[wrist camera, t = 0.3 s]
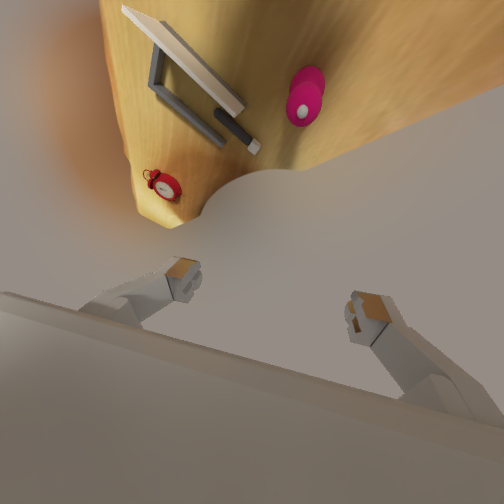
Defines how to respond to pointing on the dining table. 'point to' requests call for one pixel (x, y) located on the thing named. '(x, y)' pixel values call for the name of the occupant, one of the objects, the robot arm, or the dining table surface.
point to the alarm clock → (164, 185)
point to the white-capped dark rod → (237, 131)
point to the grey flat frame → (172, 99)
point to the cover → (184, 60)
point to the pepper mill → (305, 96)
